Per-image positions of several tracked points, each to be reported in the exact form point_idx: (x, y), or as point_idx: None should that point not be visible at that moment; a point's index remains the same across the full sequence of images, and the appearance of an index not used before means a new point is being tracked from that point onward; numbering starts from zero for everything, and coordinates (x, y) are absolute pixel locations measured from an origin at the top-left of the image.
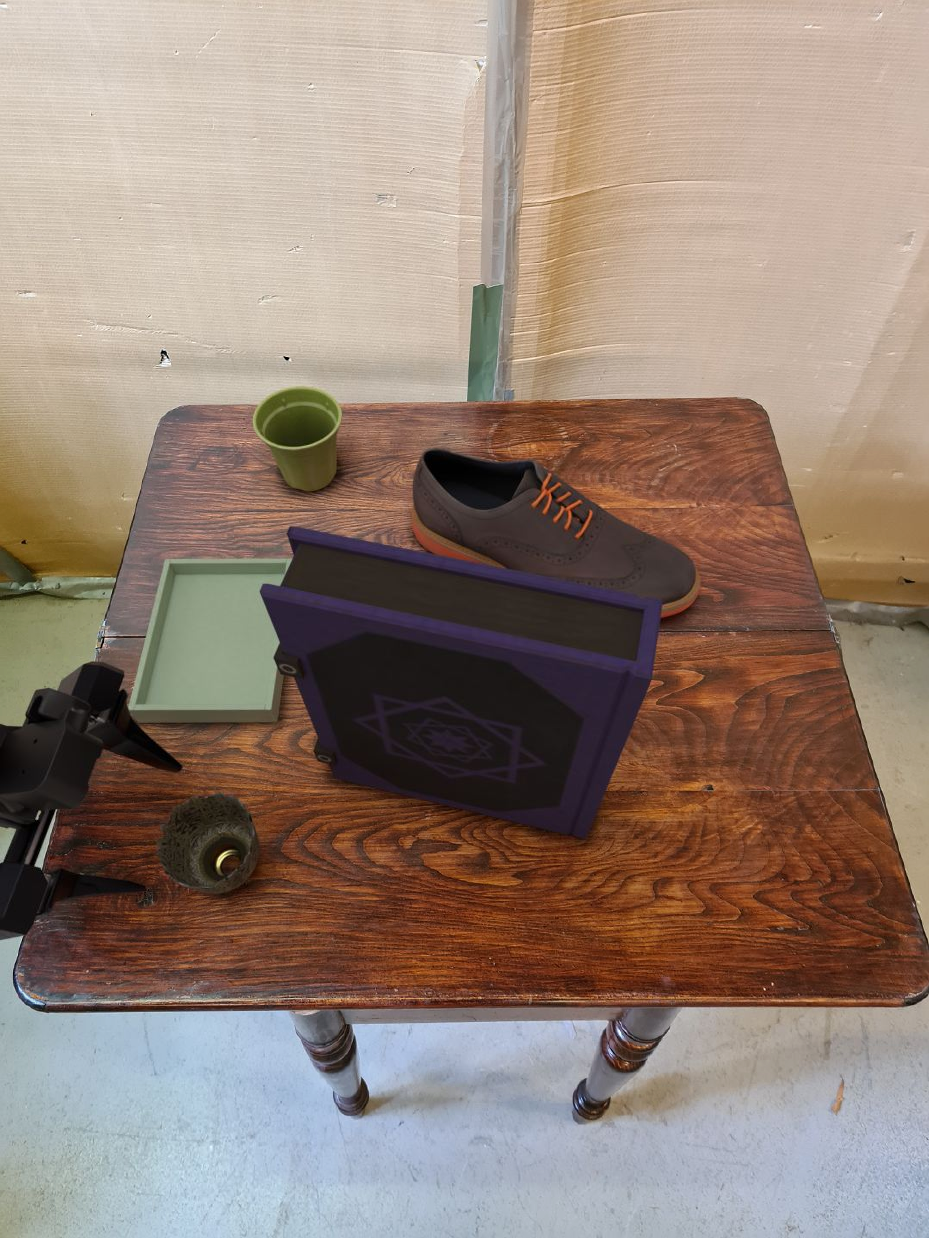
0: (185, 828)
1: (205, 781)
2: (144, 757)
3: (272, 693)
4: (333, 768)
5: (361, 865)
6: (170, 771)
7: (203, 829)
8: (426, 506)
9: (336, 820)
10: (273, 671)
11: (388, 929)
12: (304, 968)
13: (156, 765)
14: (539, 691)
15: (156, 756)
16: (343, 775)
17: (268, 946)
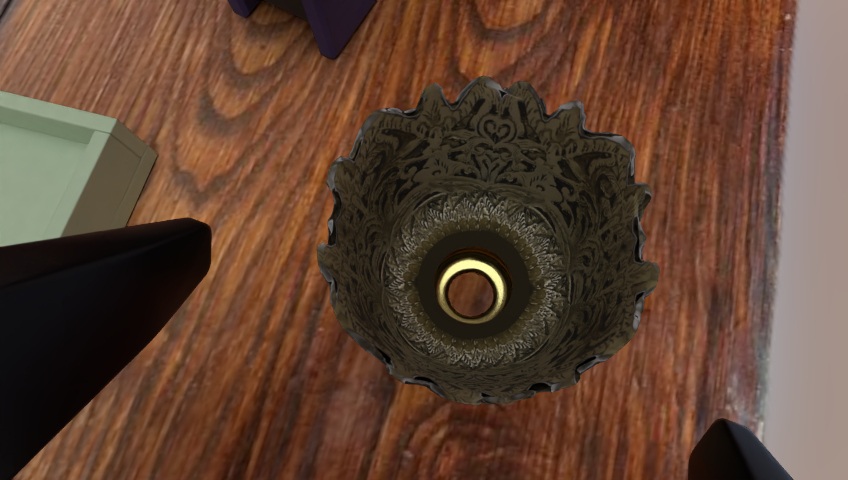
0: (390, 342)
1: (241, 335)
2: (66, 345)
3: (74, 110)
4: (327, 6)
5: (536, 38)
6: (196, 284)
7: (389, 316)
8: None
9: (429, 68)
10: (13, 100)
11: (672, 12)
12: (727, 169)
13: (142, 318)
14: None
15: (86, 262)
16: (344, 13)
17: (671, 234)
